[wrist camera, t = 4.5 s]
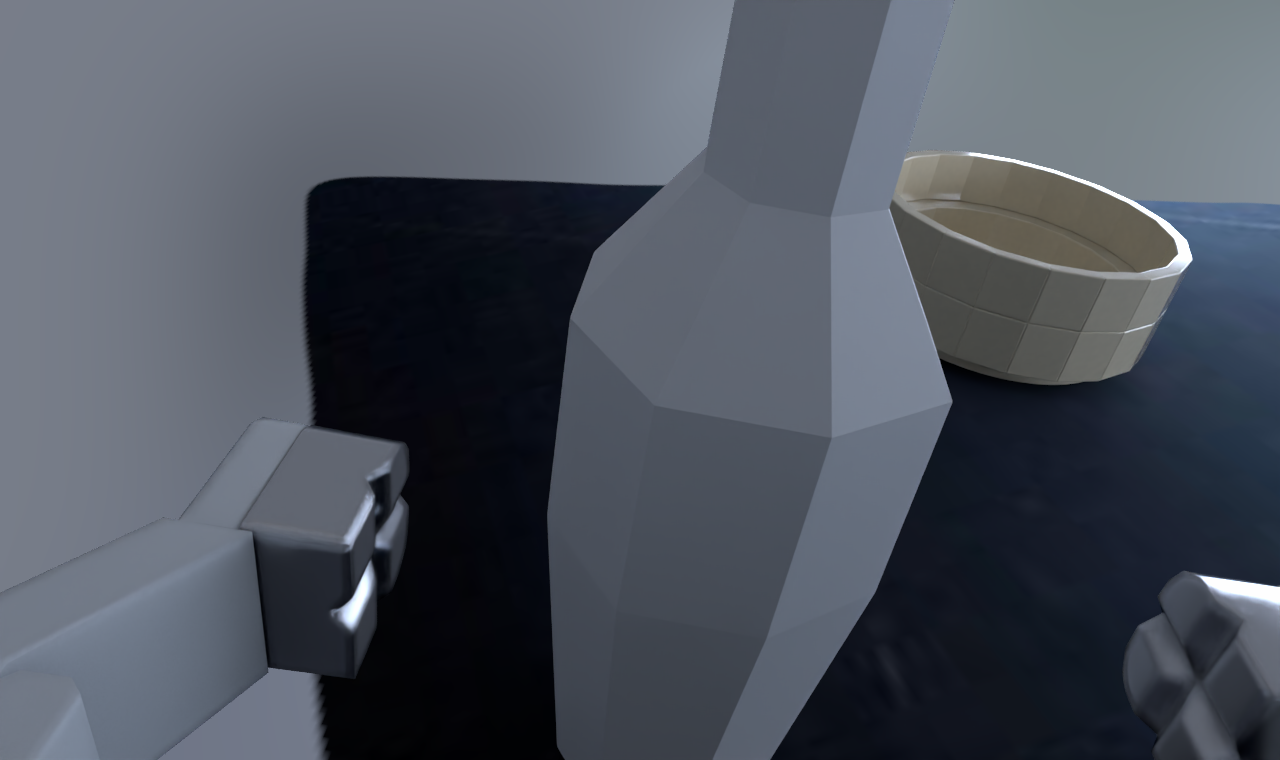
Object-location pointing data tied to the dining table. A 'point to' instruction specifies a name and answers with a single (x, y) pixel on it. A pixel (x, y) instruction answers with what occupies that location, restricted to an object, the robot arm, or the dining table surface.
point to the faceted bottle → (746, 398)
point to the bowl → (1033, 267)
